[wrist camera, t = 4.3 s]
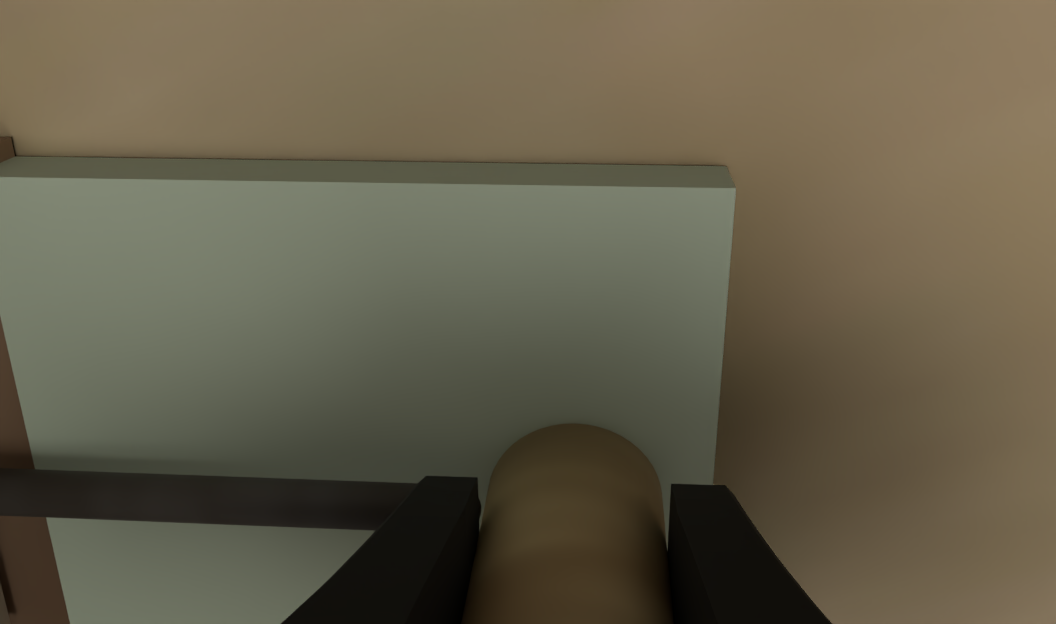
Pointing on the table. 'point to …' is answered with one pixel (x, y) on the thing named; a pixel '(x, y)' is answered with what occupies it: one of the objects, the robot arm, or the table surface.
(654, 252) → the pad
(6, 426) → the lane shelf
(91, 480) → the block rod cylinder assembly
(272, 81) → the table surface
